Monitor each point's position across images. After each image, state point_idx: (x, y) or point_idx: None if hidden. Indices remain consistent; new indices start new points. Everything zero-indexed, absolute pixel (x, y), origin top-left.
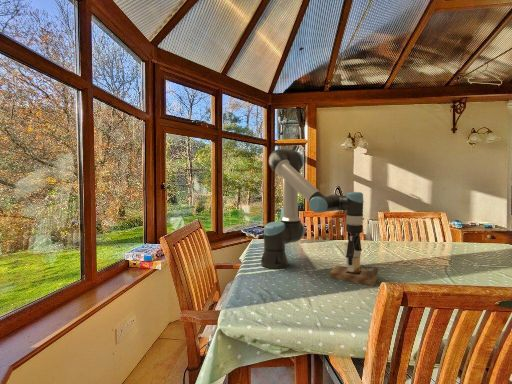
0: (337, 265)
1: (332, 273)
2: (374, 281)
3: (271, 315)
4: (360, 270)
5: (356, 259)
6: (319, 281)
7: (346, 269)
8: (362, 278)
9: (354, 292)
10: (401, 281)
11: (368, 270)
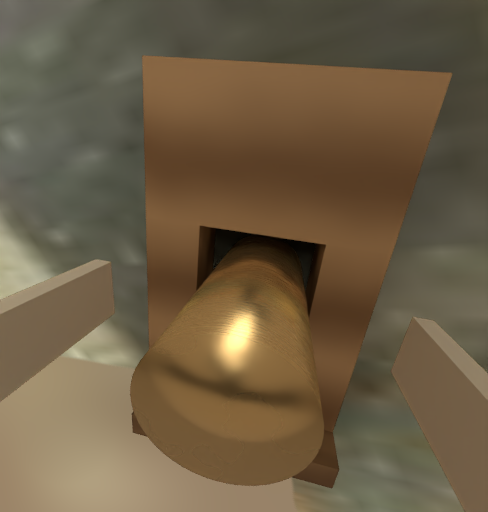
0: (446, 86)
1: (150, 95)
2: None
3: None
4: (317, 343)
5: (151, 432)
6: (55, 13)
7: (303, 222)
8: (152, 343)
9: (35, 282)
10: (305, 493)
11: (339, 399)
